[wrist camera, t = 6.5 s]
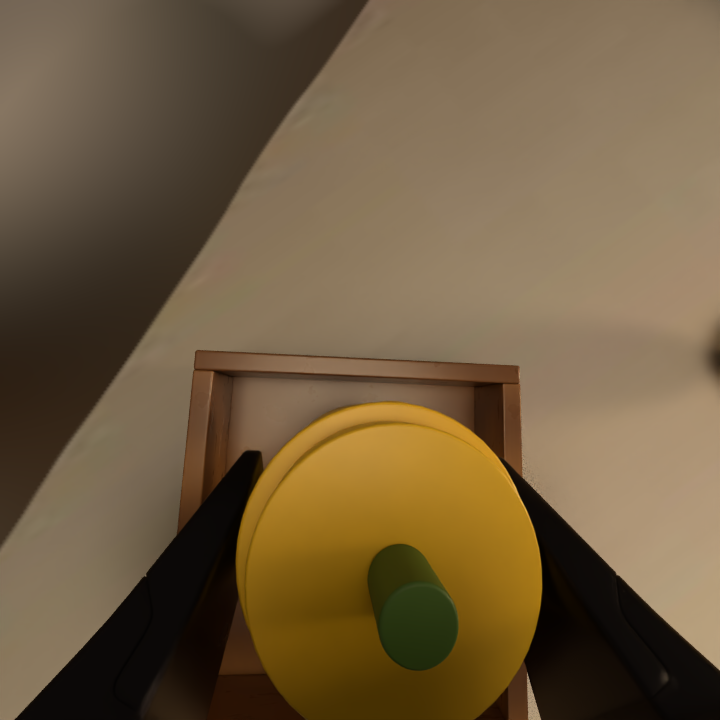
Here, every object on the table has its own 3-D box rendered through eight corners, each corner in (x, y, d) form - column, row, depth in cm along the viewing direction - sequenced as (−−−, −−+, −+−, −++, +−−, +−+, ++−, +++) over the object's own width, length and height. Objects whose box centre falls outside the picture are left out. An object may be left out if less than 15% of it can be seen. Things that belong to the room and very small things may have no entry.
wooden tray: (471, 649, 19) (529, 749, 13) (207, 655, 18) (152, 766, 12) (469, 376, 21) (520, 365, 15) (232, 365, 19) (194, 349, 14)
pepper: (419, 585, 13) (606, 951, 4) (258, 548, 13) (100, 860, 4) (453, 423, 14) (663, 449, 5) (303, 385, 14) (257, 343, 5)
